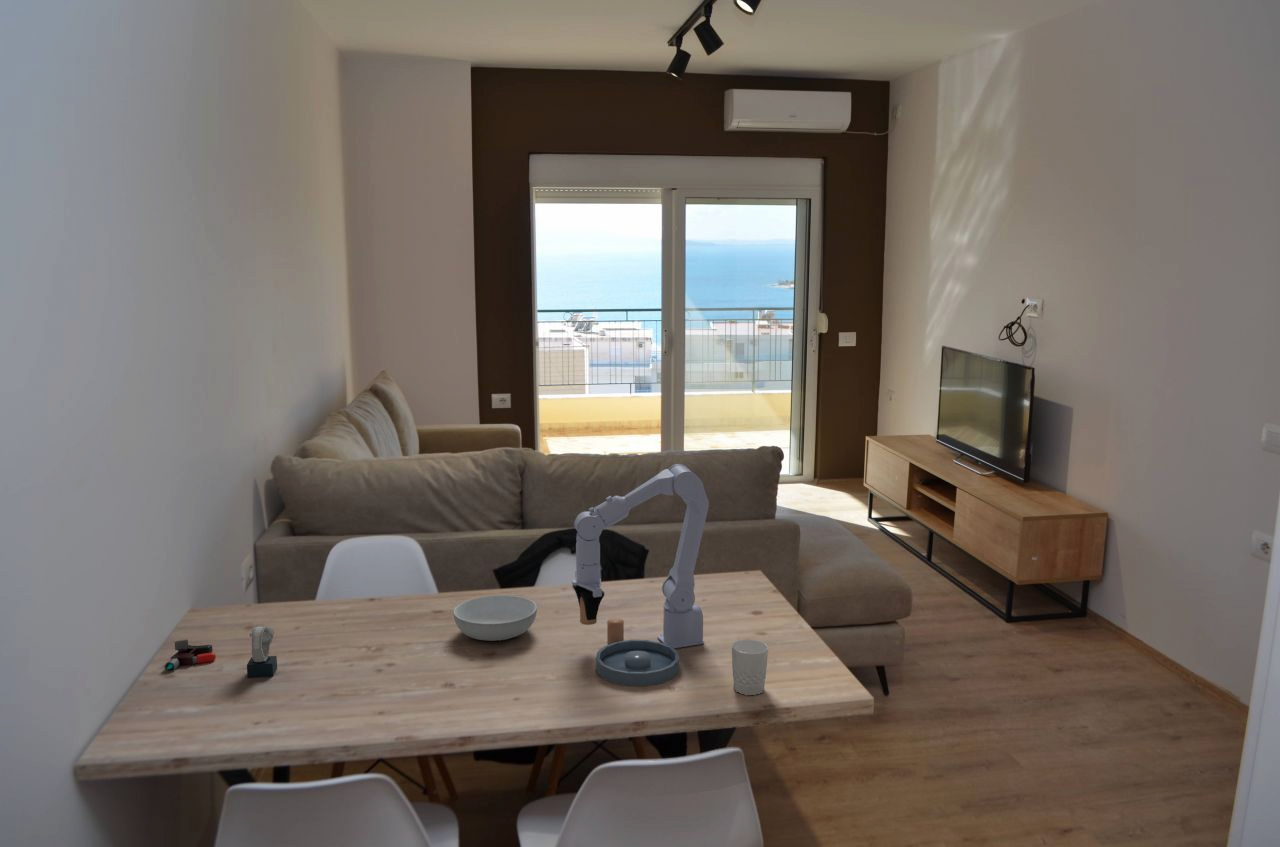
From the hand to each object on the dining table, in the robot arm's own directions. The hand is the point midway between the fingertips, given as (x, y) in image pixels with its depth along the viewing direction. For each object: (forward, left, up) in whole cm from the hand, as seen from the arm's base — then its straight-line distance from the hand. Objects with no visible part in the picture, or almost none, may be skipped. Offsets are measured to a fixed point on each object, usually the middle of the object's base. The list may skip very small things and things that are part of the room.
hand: (588, 616), depth 231 cm
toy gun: (+89, -25, -9) cm, 93 cm away
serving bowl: (+19, -17, -9) cm, 27 cm away
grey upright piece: (+74, -13, -8) cm, 76 cm away
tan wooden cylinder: (0, 0, -1) cm, 1 cm away
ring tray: (-7, +15, -8) cm, 19 cm away
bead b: (-7, 0, -8) cm, 11 cm away
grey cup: (-26, +34, -8) cm, 44 cm away
